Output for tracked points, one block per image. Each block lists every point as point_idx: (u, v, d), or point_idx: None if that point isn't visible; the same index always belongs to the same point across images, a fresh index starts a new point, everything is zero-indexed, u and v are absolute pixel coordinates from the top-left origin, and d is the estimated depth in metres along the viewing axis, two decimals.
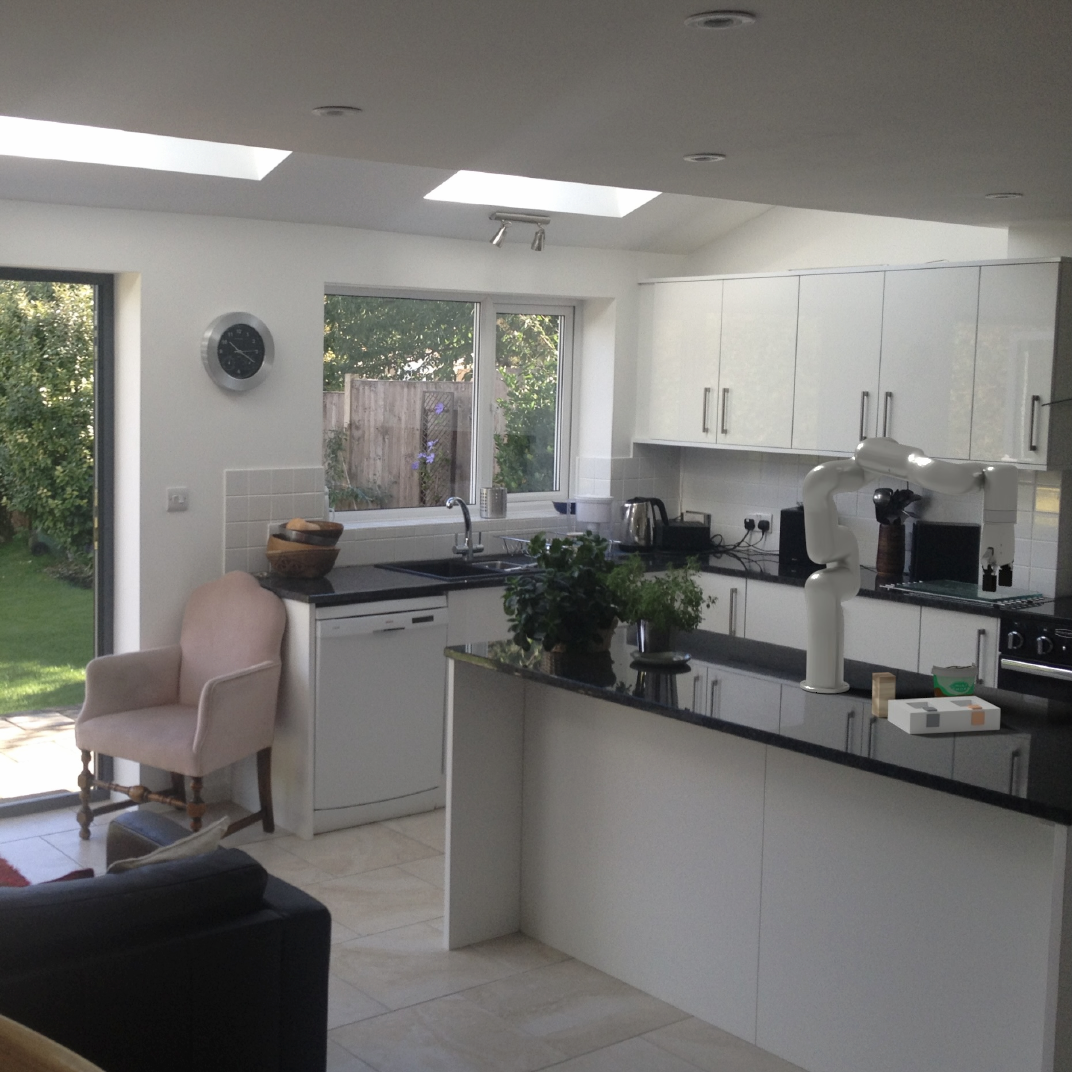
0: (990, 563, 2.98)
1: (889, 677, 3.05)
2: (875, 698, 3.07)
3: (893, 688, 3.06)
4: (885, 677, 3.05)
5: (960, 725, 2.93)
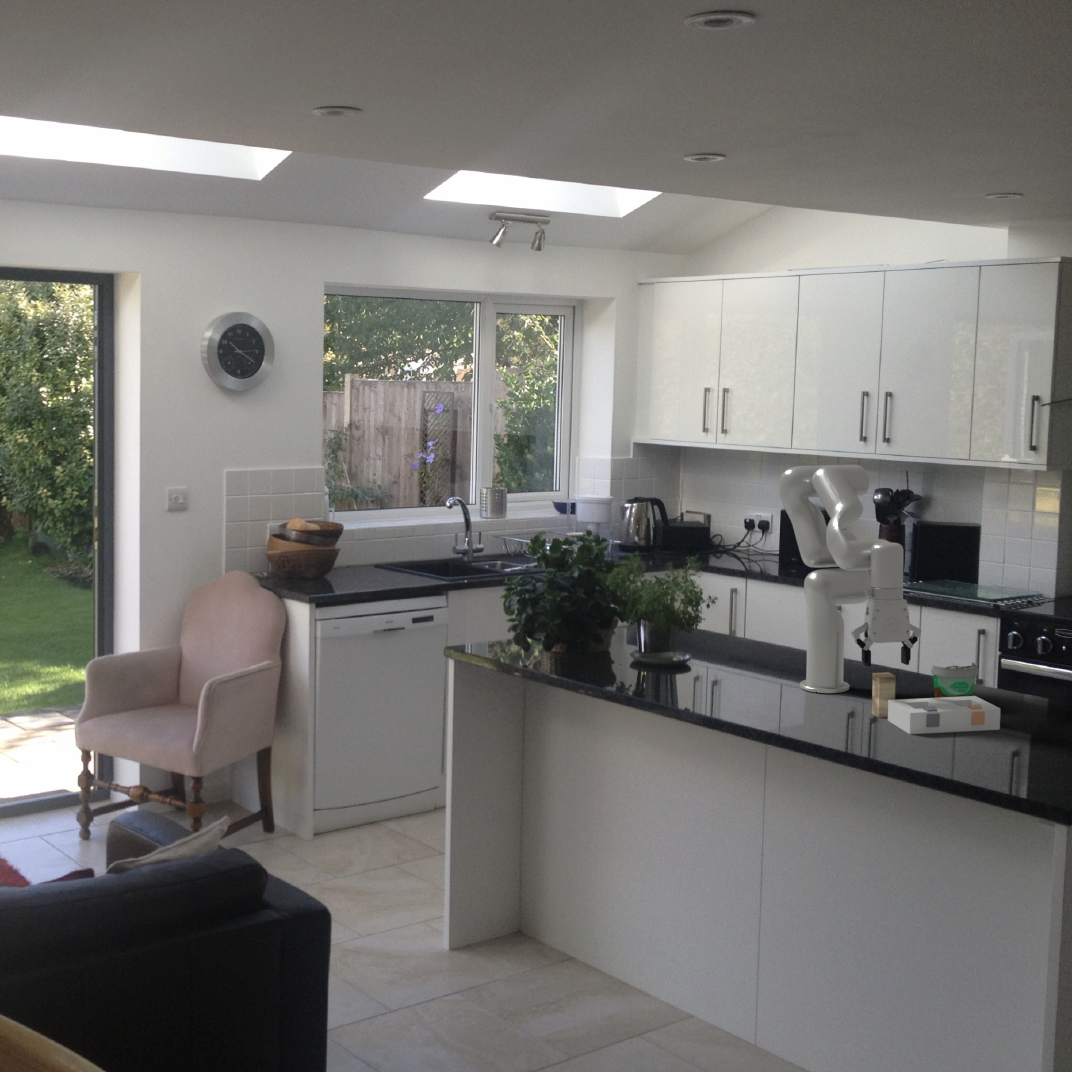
0: None
1: (889, 677, 3.05)
2: (875, 698, 3.07)
3: (893, 688, 3.06)
4: (885, 677, 3.05)
5: (960, 725, 2.93)
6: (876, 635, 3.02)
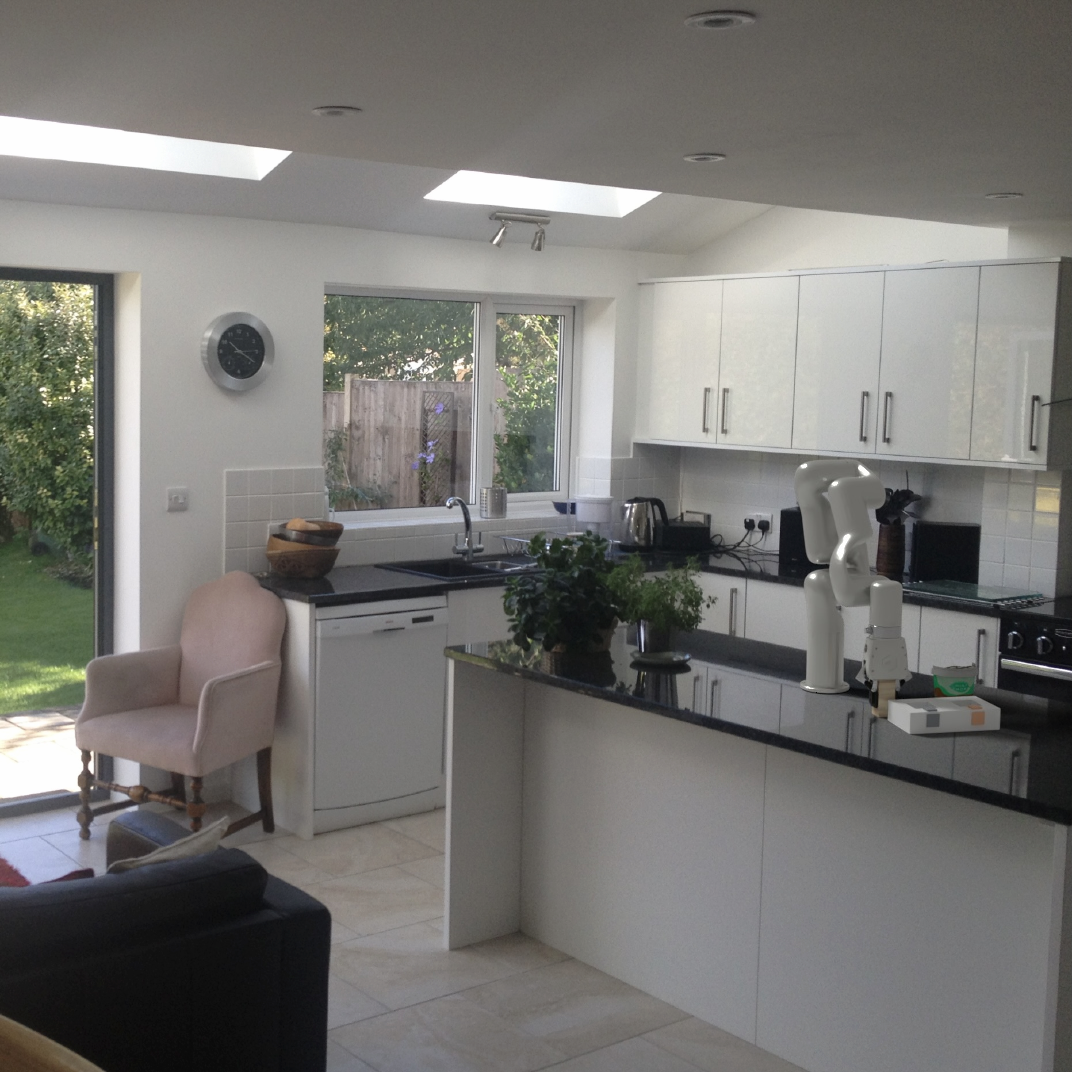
0: None
1: None
2: None
3: (893, 688, 3.06)
4: None
5: (960, 725, 2.93)
6: (874, 673, 3.04)
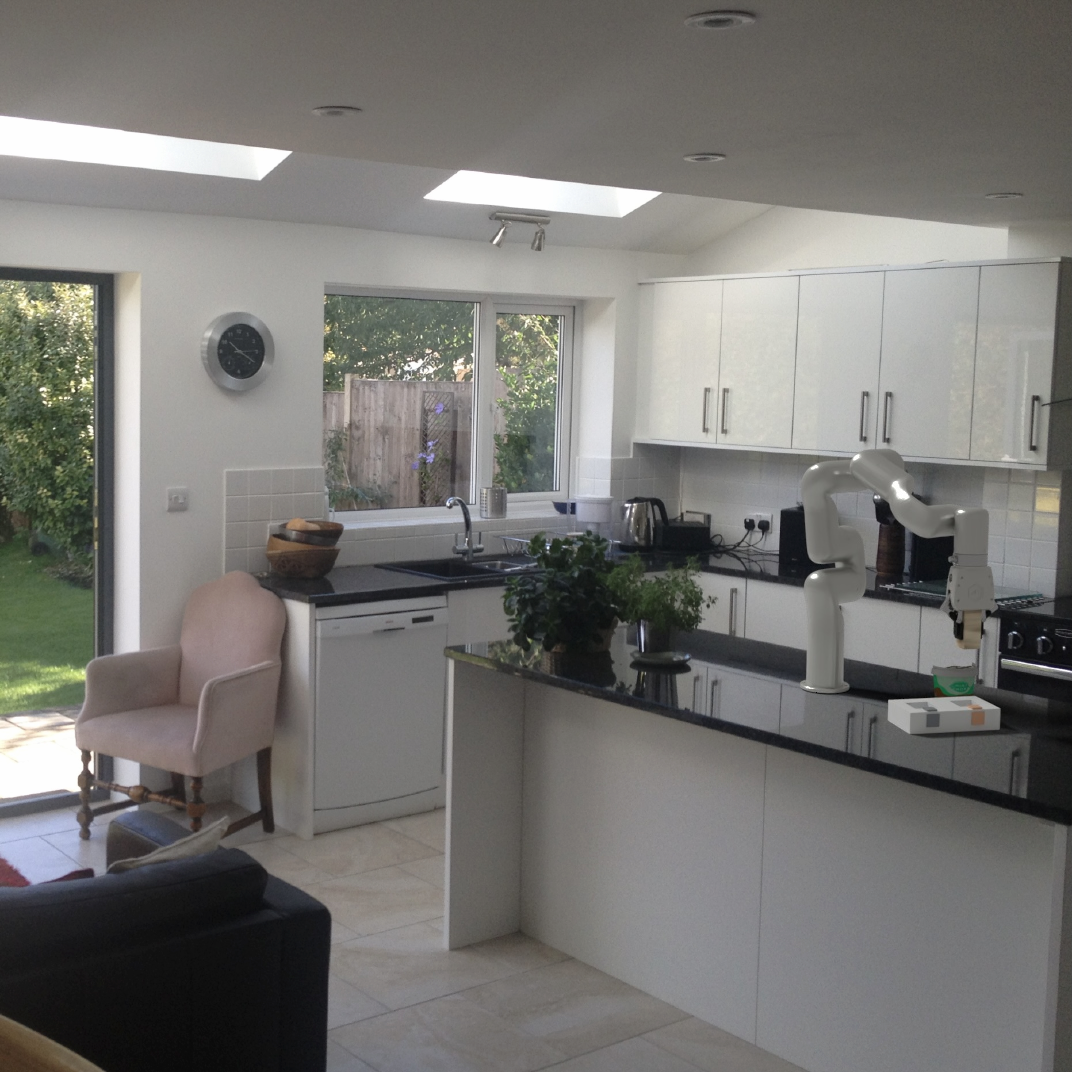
0: None
1: None
2: None
3: (979, 619, 2.95)
4: None
5: (960, 725, 2.93)
6: (960, 603, 2.93)
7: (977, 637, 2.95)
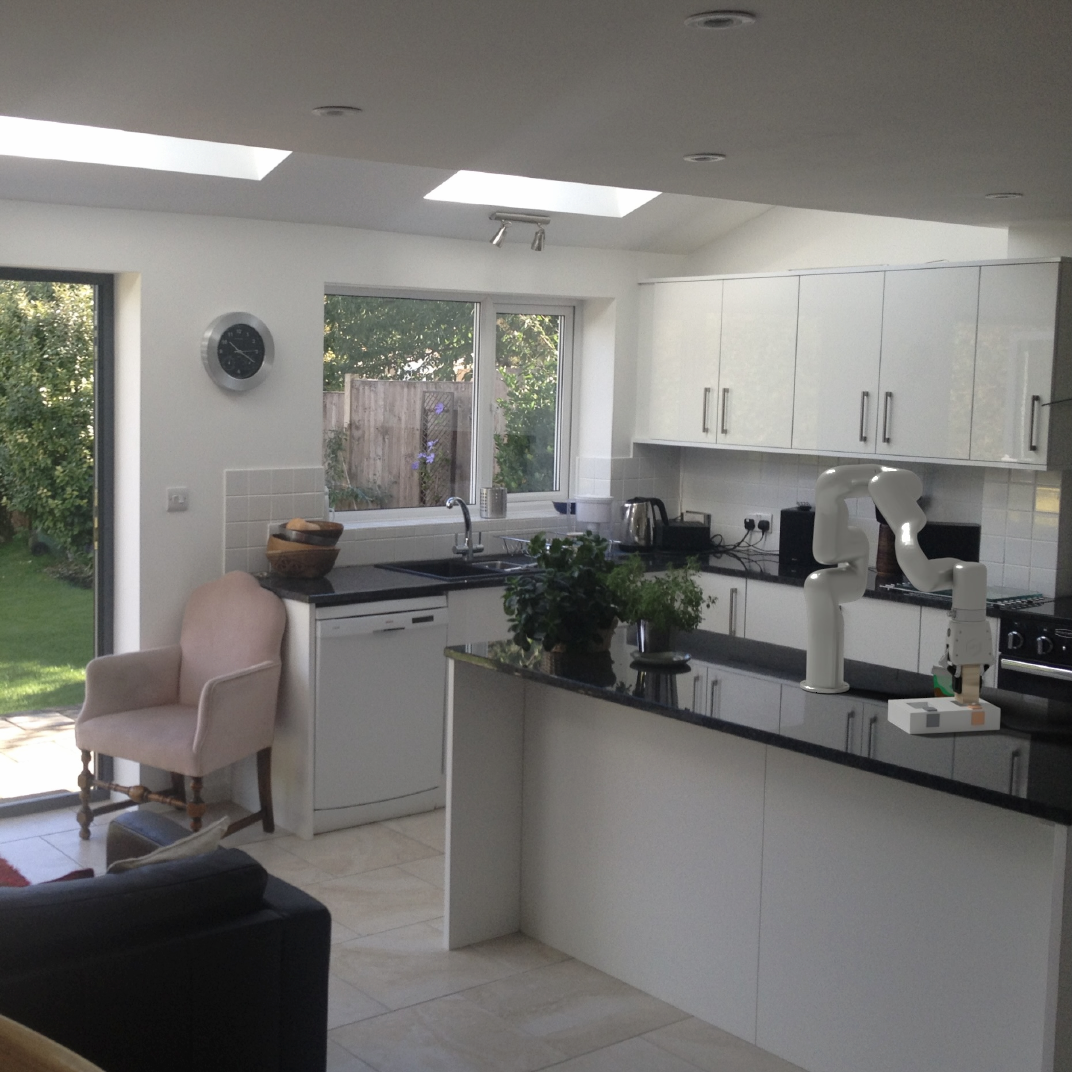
0: None
1: None
2: None
3: (978, 673, 2.96)
4: None
5: (960, 725, 2.93)
6: (958, 657, 2.94)
7: (975, 691, 2.97)
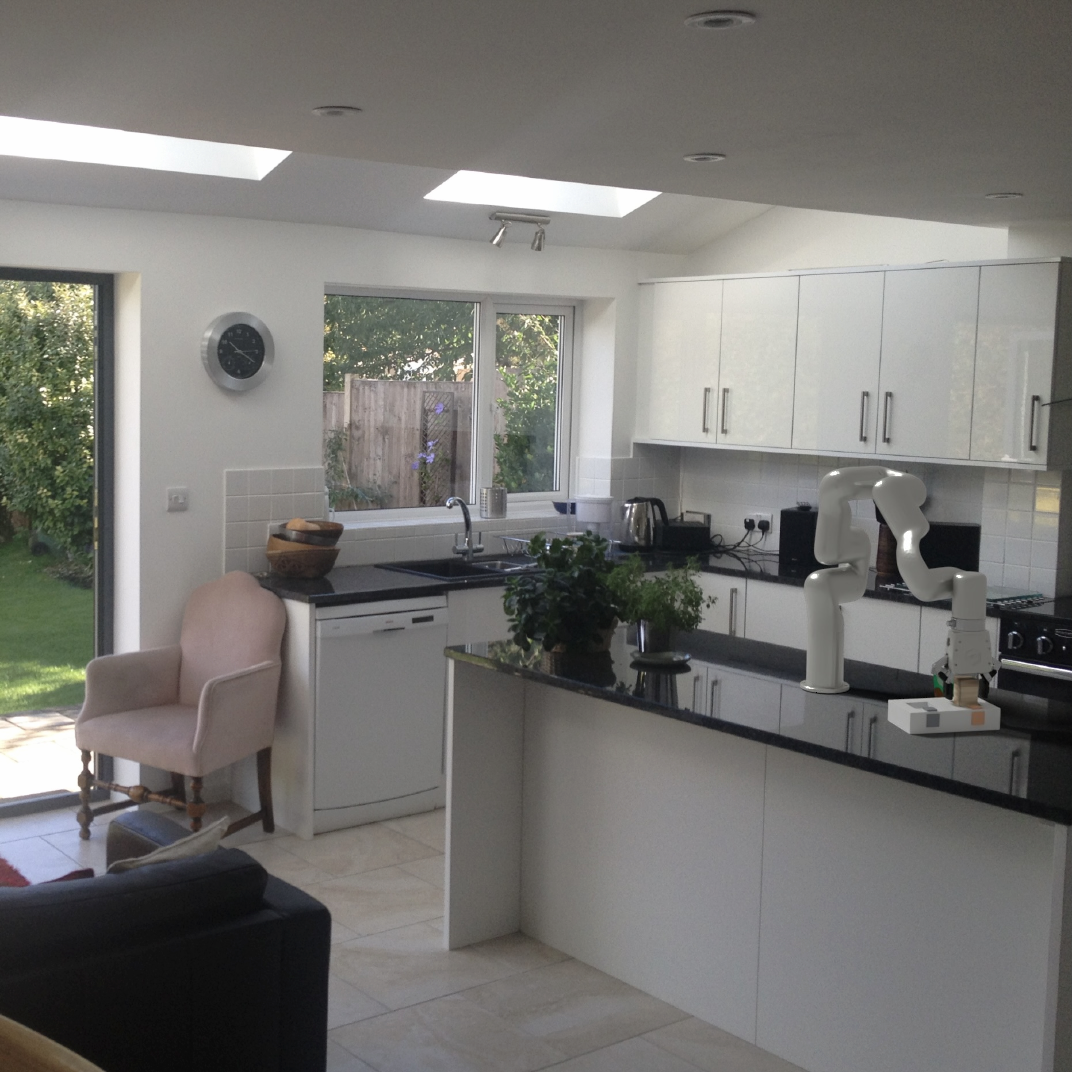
0: None
1: (972, 681, 2.96)
2: (957, 702, 2.99)
3: (976, 693, 2.97)
4: (967, 681, 2.96)
5: (960, 725, 2.93)
6: (957, 667, 2.95)
7: None
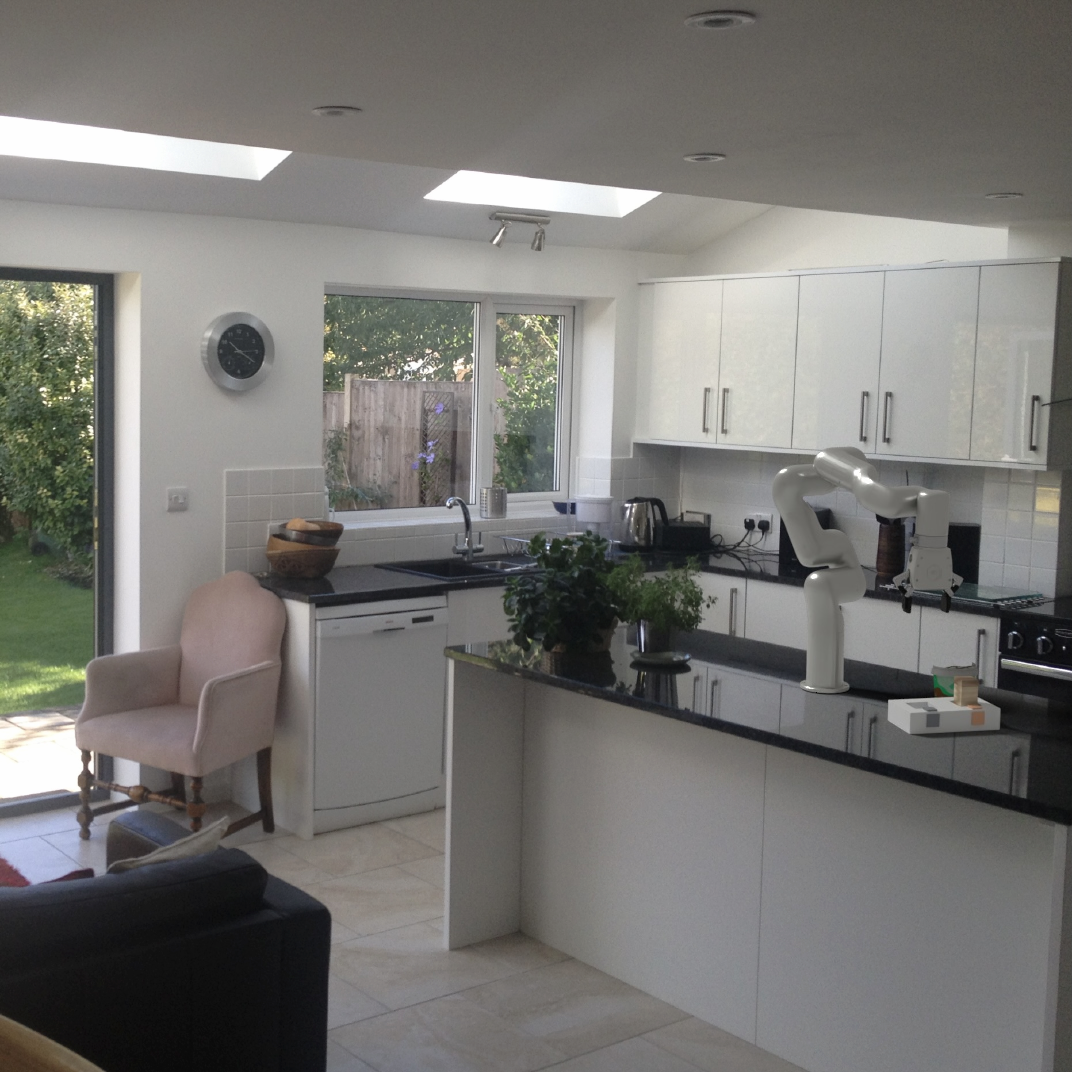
0: None
1: (972, 681, 2.96)
2: (957, 702, 2.99)
3: (976, 693, 2.97)
4: (967, 681, 2.96)
5: (960, 725, 2.93)
6: (918, 582, 3.02)
7: None
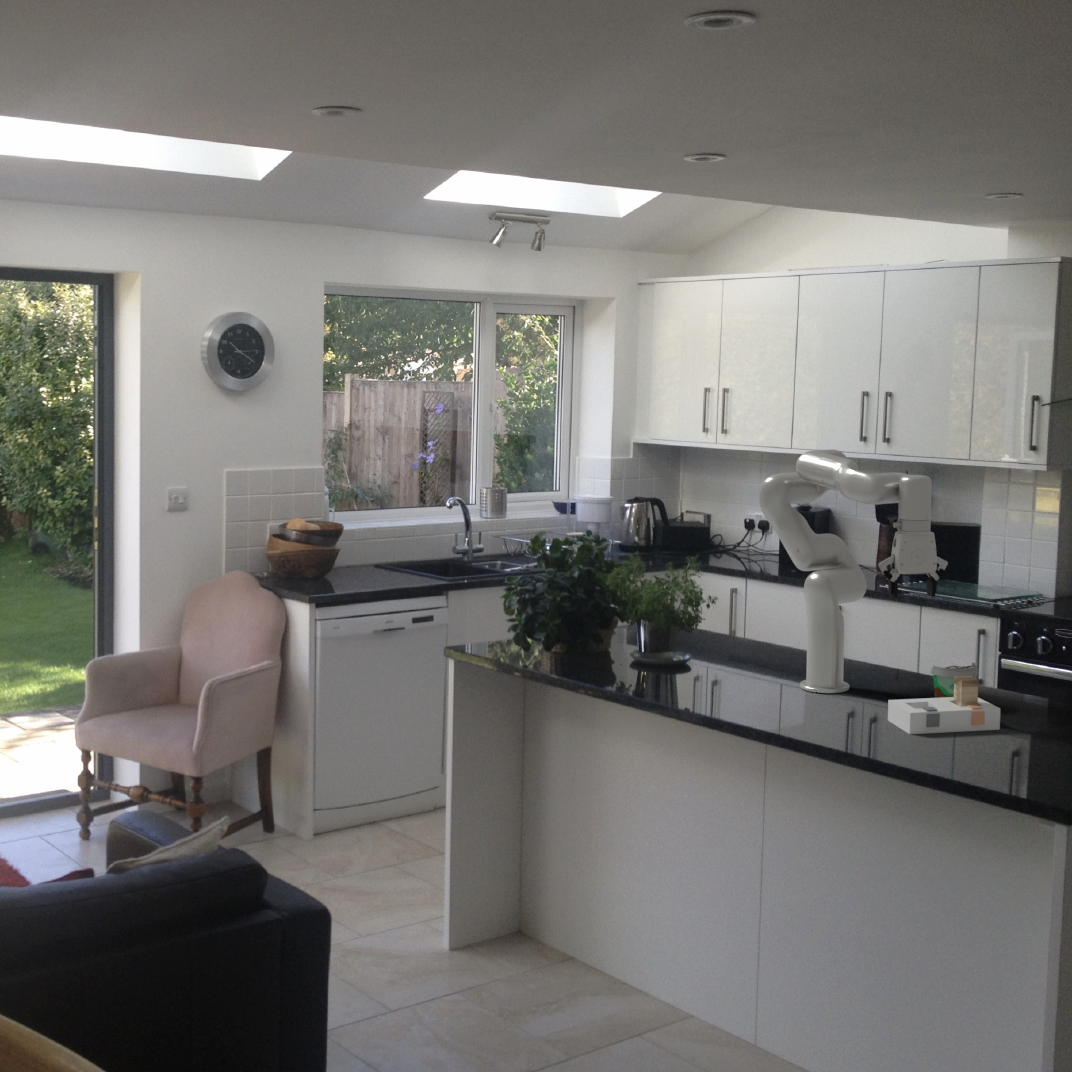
0: None
1: (972, 681, 2.96)
2: (957, 702, 2.99)
3: (976, 693, 2.97)
4: (967, 681, 2.96)
5: (960, 725, 2.93)
6: (903, 566, 3.05)
7: None
